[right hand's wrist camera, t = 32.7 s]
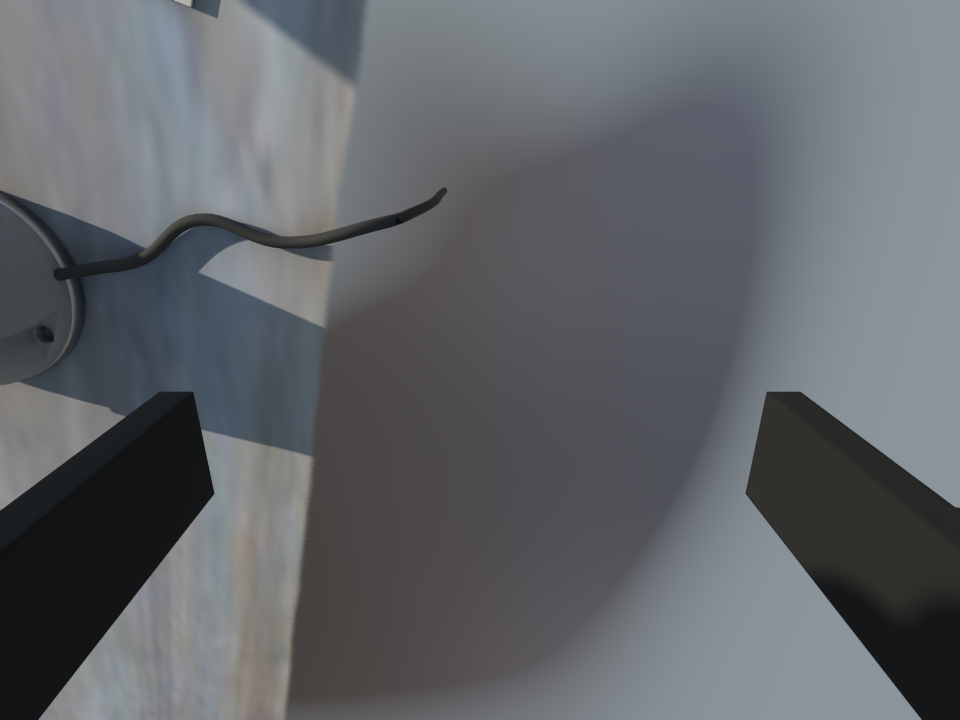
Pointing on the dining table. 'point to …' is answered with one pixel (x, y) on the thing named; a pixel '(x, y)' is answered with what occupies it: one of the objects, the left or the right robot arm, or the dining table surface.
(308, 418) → the dining table surface
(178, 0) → the invitation card
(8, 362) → the right robot arm
